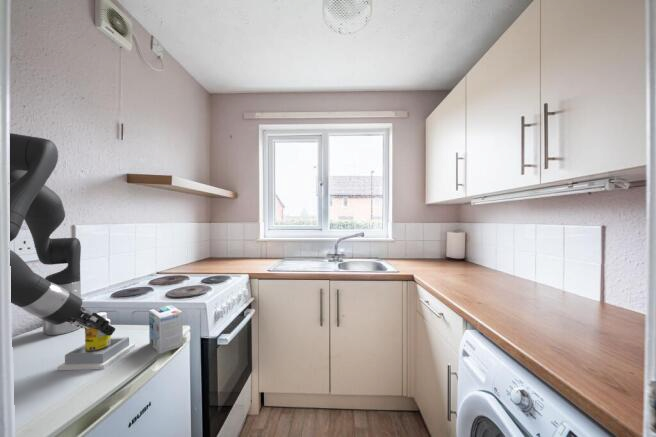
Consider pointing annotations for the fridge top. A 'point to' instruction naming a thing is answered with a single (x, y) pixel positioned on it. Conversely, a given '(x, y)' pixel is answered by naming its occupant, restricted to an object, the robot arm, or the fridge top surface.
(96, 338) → the supplement bottle
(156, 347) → the light bulb box
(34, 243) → the robot arm
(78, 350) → the grey tray
